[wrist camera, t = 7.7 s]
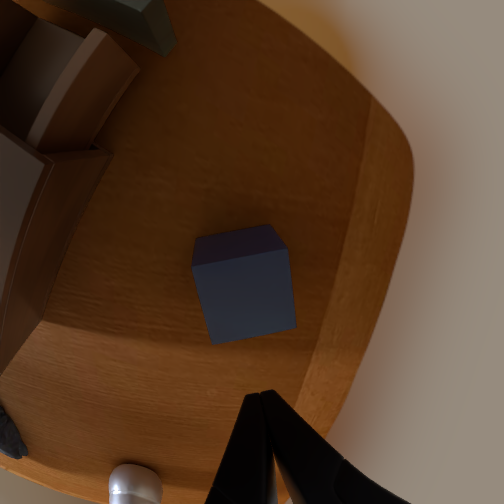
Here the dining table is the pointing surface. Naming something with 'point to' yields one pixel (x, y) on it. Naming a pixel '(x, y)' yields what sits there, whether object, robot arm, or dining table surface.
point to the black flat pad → (10, 438)
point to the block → (244, 283)
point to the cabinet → (37, 227)
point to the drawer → (71, 68)
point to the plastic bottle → (134, 485)
